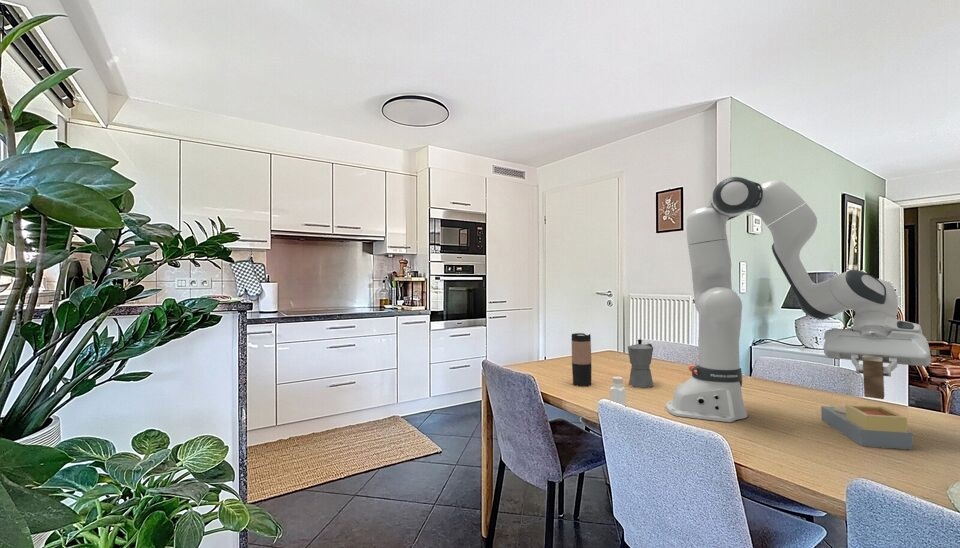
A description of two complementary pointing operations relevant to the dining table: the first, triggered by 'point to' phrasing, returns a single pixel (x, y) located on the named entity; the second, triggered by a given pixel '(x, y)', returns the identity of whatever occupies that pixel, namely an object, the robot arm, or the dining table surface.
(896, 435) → the grey and tan block
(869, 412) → the breaker button
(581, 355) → the travel mug
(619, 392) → the salt shaker
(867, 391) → the brown rectangular block
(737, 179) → the robot arm
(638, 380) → the coffeepot
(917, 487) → the dining table surface
